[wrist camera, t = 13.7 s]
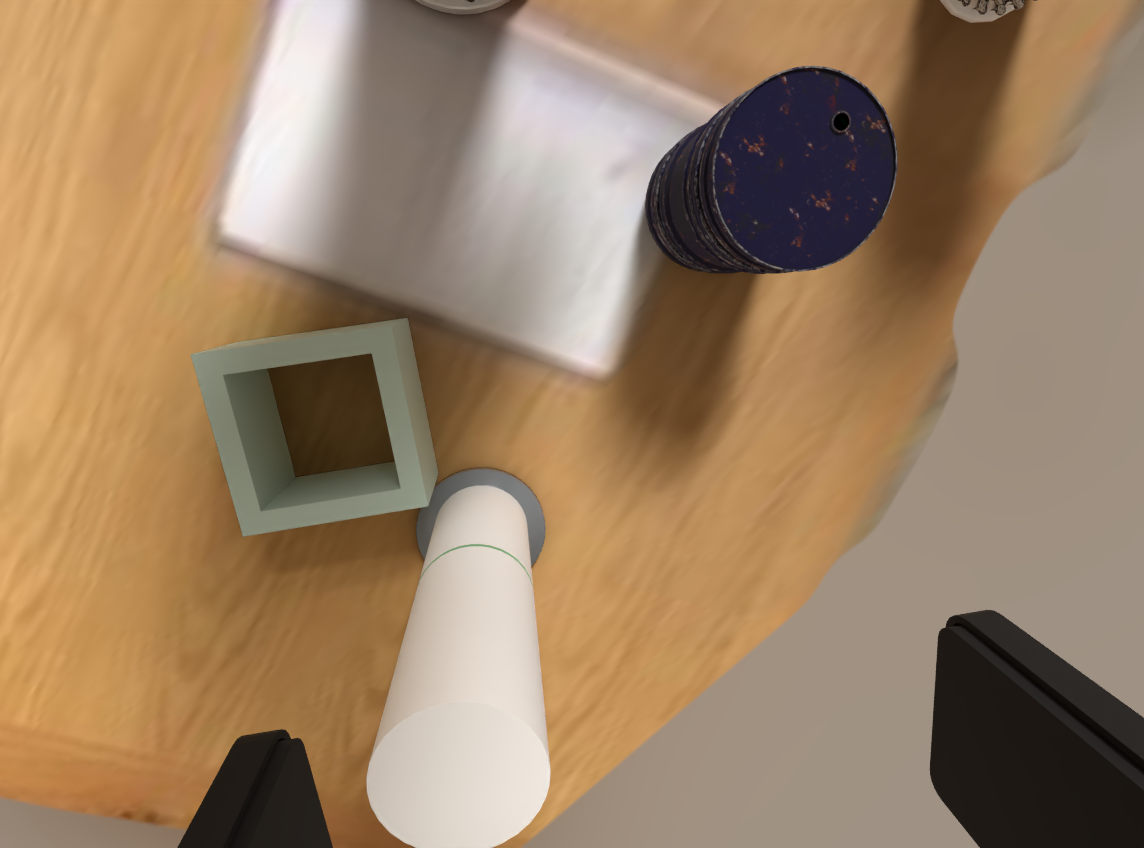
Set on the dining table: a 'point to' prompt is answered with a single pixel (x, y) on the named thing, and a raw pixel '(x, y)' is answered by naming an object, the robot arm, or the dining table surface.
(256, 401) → the collar
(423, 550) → the grey round disc
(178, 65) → the dining table surface
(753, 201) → the storage jar
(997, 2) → the decorative candle
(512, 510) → the cylindrical container
